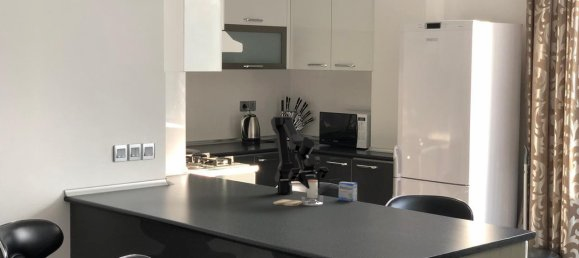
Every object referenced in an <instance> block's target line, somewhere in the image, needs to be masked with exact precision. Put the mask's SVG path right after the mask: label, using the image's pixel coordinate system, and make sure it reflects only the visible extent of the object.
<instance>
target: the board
mask: <svg viewBox="0 0 579 258" xmlns="http://www.w3.org/2000/svg"><path fill="white" fill-rule="evenodd" d="M273 205H276V206H277V205H279V206H290V207H297V206H298V205H302V200H295V199H285V198H284V199H282V198H281V199H279V200H276V201H273Z"/></svg>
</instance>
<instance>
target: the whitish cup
mask: <svg viewBox="0 0 579 258" xmlns="http://www.w3.org/2000/svg"><path fill="white" fill-rule="evenodd" d="M307 182H308V184H309V189H308V188H306V189H307V190H306V191H307V192H306V197H307V198H308V199H317V198H319V197H318V196H319V193H318V189H319V188H318V180H314V178H313V179H307Z"/></svg>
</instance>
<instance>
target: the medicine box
mask: <svg viewBox="0 0 579 258" xmlns="http://www.w3.org/2000/svg"><path fill="white" fill-rule="evenodd" d="M338 201H341V202H343V201H345V202H357V201H358V182H353V181H351V182H349V181H340V182H339V181H338Z"/></svg>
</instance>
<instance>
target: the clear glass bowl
mask: <svg viewBox="0 0 579 258" xmlns="http://www.w3.org/2000/svg"><path fill="white" fill-rule="evenodd" d="M318 198H319V200H317V198H308V199H307V200H306V196H301V201H302V204H301V205H302V206H308V207H309V206H310V207H318V206H322V205H323V204H324V195H319V197H318Z"/></svg>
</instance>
